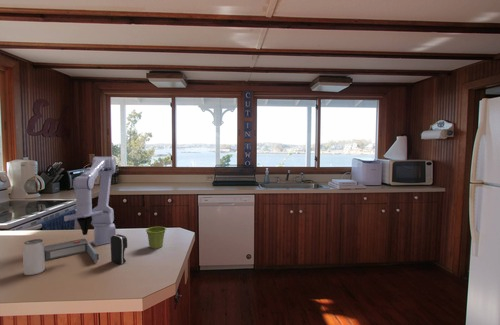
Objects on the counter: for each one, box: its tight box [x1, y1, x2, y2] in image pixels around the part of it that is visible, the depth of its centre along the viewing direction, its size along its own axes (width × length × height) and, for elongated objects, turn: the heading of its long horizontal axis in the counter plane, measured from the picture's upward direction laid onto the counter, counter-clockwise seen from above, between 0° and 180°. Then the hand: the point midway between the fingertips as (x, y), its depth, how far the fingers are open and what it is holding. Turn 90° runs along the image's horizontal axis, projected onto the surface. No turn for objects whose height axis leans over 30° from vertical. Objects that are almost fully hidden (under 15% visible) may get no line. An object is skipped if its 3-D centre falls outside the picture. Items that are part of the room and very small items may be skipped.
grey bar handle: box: [86, 242, 100, 264], centre depth 119 cm, size 17×2×4 cm, turn 41°
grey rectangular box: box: [44, 238, 89, 261], centre depth 123 cm, size 17×8×4 cm, turn 132°
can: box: [22, 238, 46, 276], centre depth 104 cm, size 6×6×12 cm
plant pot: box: [145, 226, 167, 250], centre depth 132 cm, size 9×9×9 cm
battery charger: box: [110, 233, 128, 265], centre depth 114 cm, size 7×4×11 cm, turn 60°
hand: (84, 234), depth 119 cm, fingers closed
